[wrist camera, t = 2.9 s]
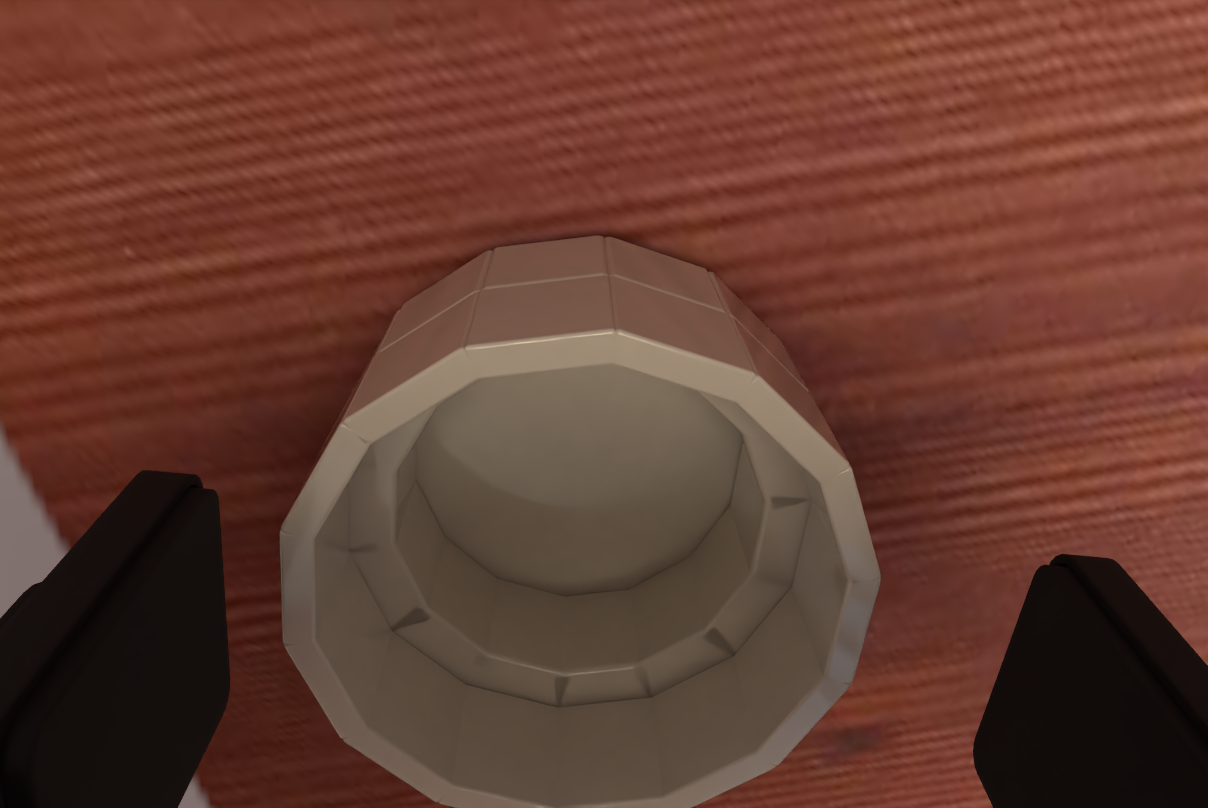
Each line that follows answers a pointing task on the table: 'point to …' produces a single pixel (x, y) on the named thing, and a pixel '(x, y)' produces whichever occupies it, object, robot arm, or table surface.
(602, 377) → the bowl
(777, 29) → the table surface
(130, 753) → the robot arm
